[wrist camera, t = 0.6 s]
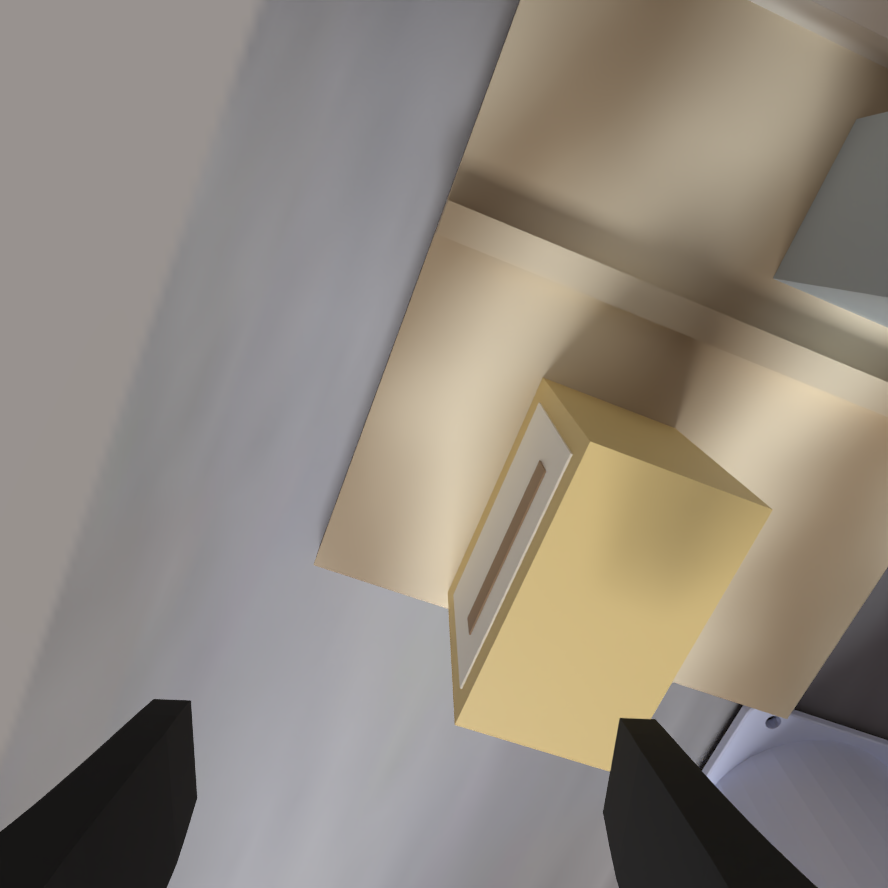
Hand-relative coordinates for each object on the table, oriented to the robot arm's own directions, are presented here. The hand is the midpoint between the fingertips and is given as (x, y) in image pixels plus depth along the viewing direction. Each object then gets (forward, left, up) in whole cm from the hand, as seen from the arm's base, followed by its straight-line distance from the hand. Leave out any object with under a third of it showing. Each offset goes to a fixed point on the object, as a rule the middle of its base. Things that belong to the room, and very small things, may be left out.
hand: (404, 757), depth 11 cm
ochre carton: (-4, -2, -9) cm, 9 cm away
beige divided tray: (-6, -7, -9) cm, 13 cm away
